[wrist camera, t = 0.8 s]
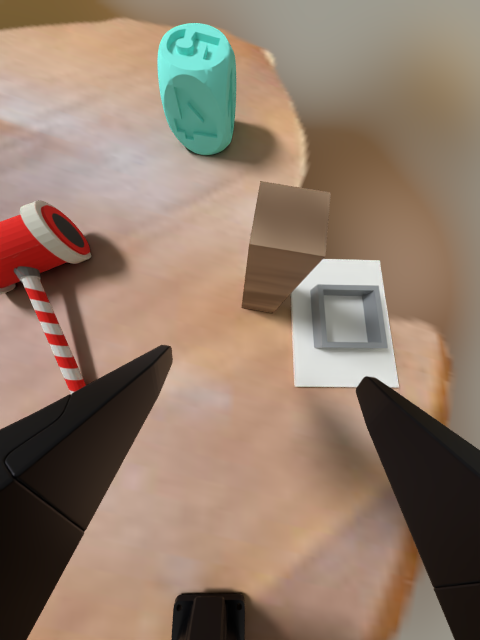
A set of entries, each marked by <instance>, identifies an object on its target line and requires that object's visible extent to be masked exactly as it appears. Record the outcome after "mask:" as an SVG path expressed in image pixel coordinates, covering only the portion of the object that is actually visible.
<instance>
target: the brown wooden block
mask: <svg viewBox="0 0 480 640" xmlns="http://www.w3.org/2000/svg"><path fill="white" fill-rule="evenodd" d="M330 194H331V193H329V192H324V191H317V190H311V189H305V188H299V187H293V186H287V185H281V184H275V183H268V182H262V181H260V187H259V192H258V198H257V203H256V209H255V215H254V220H253V226H252V232H251V237H250V243H249V251H248V259H247V267H246V275H245V284H244V292H243V300H242V308H246V309H252V310H258V311H264V312H270V313H273V312H274V311H275V310H276V309H277V308H278V307H279V306H280V305H281V304H282V303H283V301H284V300H285V299H286V298H287V297H288V296H289V295H290V294H291V293H292V292H293V291H294V290H295V289H296V287H297V286H298V285H299V284H300V283H301V282H302V281H303V280H304V279H305V278H306V277H307V276H308V275H309V273H310V272H311V271H312V270H313V269H314V268H315V267H316V266H317V265H318V264H319V263H320V262H321V261H322V259H323V258H324V257H325V254H326V241H327V230H328V218H329V205H330Z"/></svg>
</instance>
